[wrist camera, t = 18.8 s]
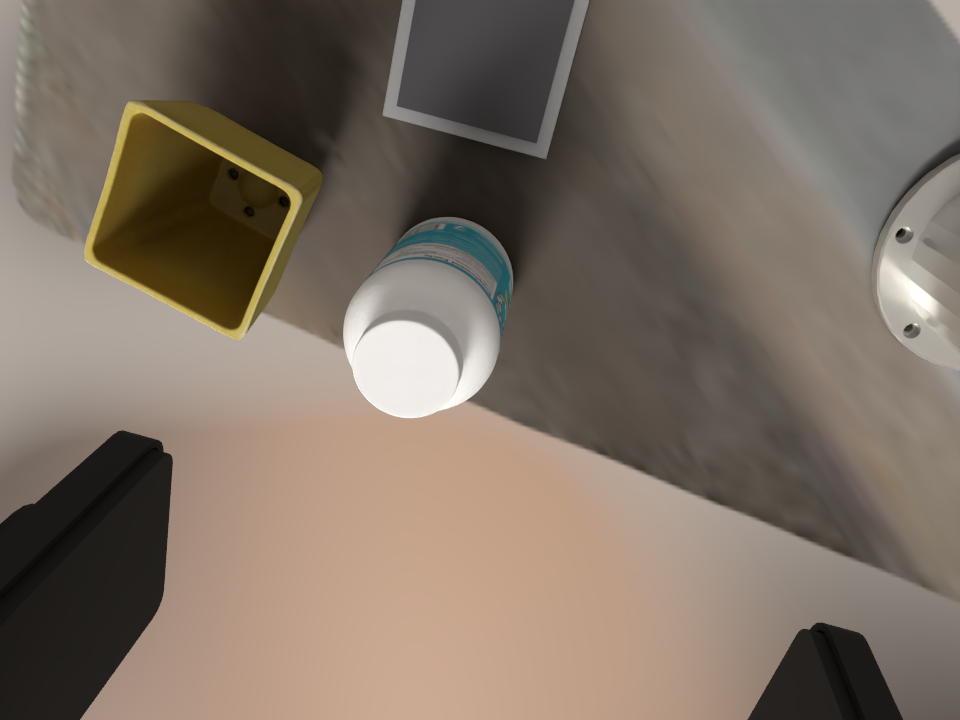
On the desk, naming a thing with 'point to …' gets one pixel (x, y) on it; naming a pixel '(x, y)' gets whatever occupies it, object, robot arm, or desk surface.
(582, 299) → the desk surface
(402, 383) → the pill bottle
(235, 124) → the flower pot
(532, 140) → the ink pad
